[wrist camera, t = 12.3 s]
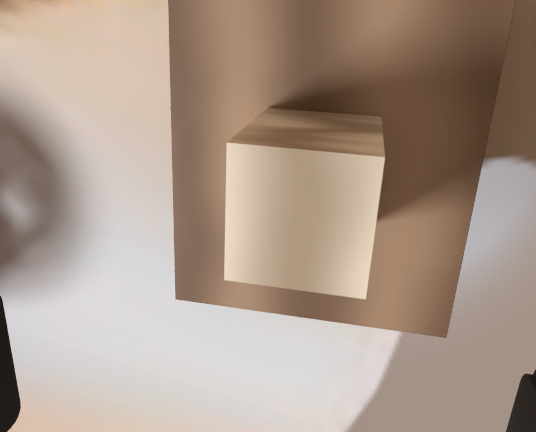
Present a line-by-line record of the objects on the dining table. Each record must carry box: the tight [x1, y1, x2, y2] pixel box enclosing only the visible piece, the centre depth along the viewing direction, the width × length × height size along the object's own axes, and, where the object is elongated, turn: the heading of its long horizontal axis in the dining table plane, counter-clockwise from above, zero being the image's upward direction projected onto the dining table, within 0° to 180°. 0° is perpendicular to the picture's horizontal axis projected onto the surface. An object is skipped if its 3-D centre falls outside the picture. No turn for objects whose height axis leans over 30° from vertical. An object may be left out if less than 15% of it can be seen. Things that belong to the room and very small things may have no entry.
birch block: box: [224, 108, 385, 299], centre depth 20 cm, size 5×5×7 cm
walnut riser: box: [168, 0, 516, 338], centre depth 26 cm, size 14×16×6 cm
